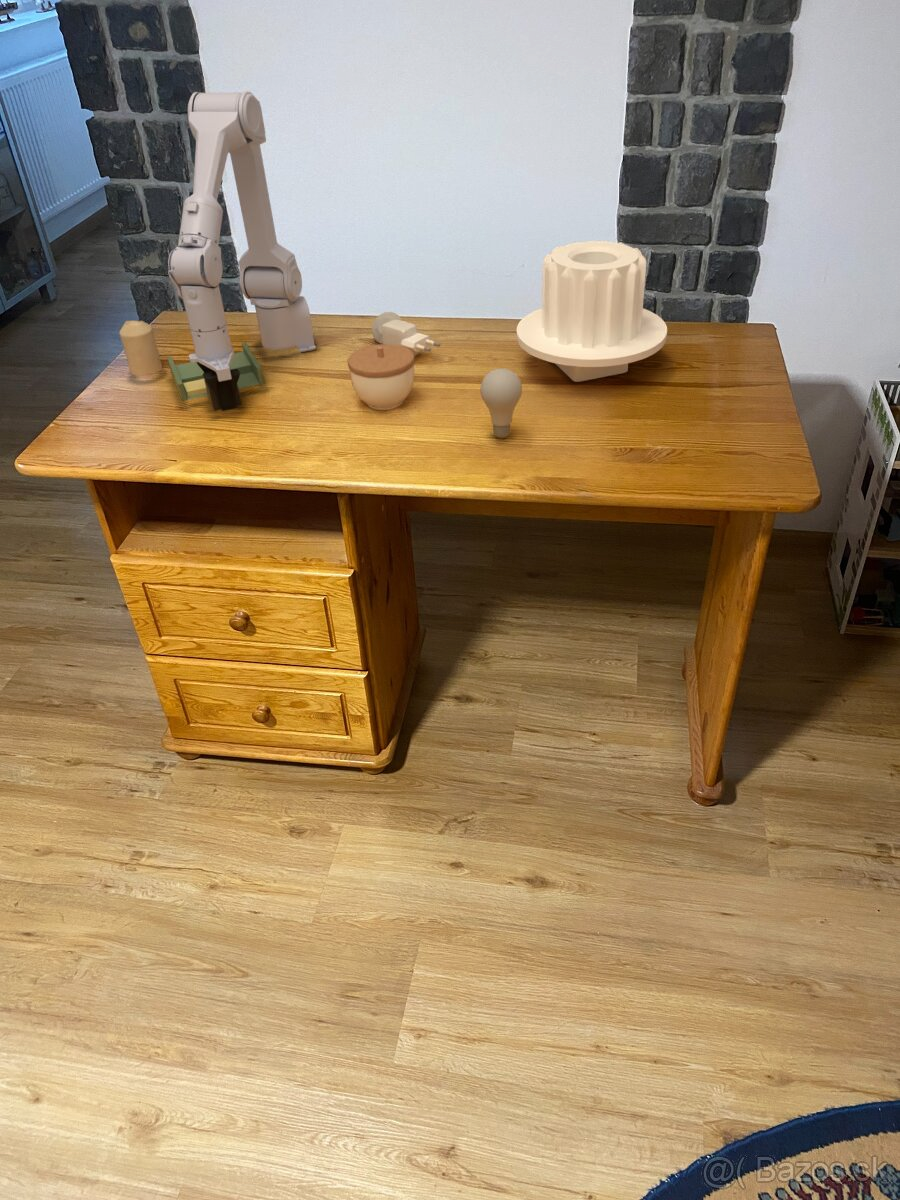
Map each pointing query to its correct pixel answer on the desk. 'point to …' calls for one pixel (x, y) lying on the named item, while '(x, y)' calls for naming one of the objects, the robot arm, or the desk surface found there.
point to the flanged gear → (592, 311)
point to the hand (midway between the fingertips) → (225, 404)
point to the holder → (214, 400)
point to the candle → (140, 348)
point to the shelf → (240, 361)
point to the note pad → (195, 387)
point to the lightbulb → (501, 398)
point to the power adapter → (406, 336)
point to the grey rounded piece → (379, 323)
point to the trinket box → (382, 375)
